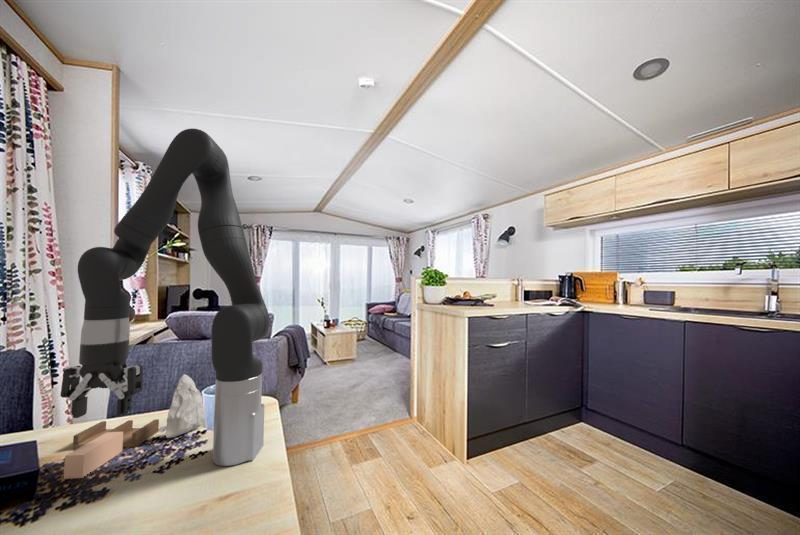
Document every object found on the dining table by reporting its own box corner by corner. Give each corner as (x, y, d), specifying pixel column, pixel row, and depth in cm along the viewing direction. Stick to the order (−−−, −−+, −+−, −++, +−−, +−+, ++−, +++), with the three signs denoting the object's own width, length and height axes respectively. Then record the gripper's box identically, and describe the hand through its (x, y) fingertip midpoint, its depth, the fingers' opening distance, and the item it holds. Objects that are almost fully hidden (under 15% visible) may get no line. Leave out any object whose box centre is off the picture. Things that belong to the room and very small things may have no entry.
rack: (158, 431, 75) (158, 419, 75) (136, 446, 68) (136, 433, 68) (101, 433, 73) (102, 421, 74) (72, 449, 66) (73, 435, 67)
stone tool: (168, 443, 69) (171, 379, 70) (162, 440, 70) (165, 377, 71) (206, 428, 76) (209, 370, 77) (200, 425, 78) (202, 368, 79)
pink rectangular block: (122, 452, 66) (123, 431, 66) (82, 478, 57) (84, 454, 57) (105, 452, 65) (107, 432, 66) (63, 479, 56) (65, 455, 57)
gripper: (153, 336, 68) (150, 407, 67) (87, 336, 66) (82, 409, 65) (126, 342, 60) (121, 423, 59) (50, 343, 59) (44, 425, 58)
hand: (101, 415), depth 62 cm, fingers open, 8 cm apart
